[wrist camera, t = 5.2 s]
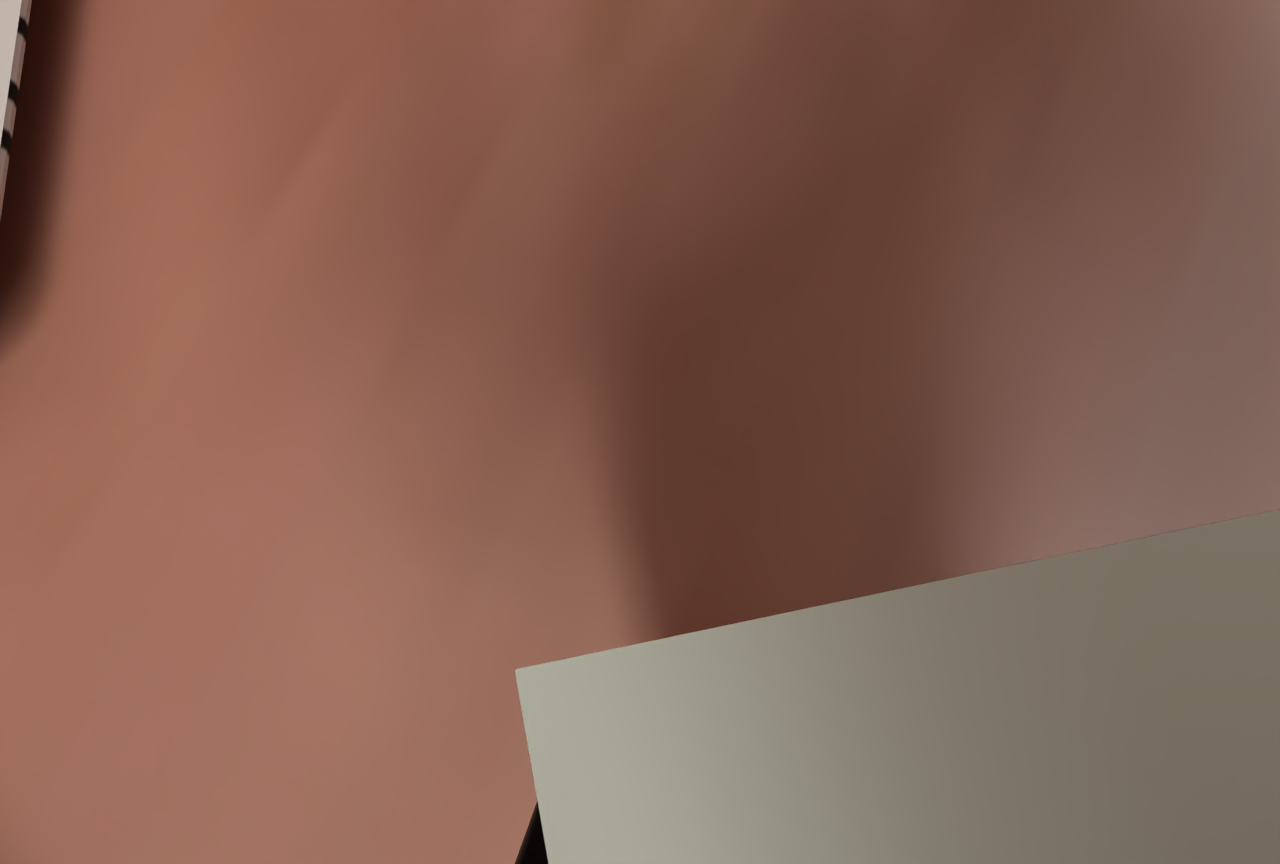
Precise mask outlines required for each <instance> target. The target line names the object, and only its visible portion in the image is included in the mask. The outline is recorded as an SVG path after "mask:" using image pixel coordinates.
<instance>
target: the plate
mask: <svg viewBox="0 0 1280 864" xmlns="http://www.w3.org/2000/svg"><path fill="white" fill-rule="evenodd" d="M31 3H32V0H0V219H1V212H2V205H3V198H4V191H5V184H6V177H7V170H8V163H9V156H10V149H11V142H12V136H13V129H14V122H15V115H16V108H17V101H18V94H19V87H20V80H21V73H22V66H23V59H24V52H25V45H26V38H27V31H28V24H29V17H30V10H31Z"/></svg>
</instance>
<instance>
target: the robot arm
mask: <svg viewBox="0 0 1280 864" xmlns="http://www.w3.org/2000/svg"><path fill="white" fill-rule="evenodd" d="M515 864H548V858H547V852H546V847H545V841H544V835H543V829H542V824H541V818H540V812H539V806H538V801H537V803H536V806H535V809H534V812H533V814H532V817H531V820H530V823H529V826H528V828H527V831H526V834H525V837H524V840H523V842H522V845H521V848H520V851H519V853H518V856H517V859H516V862H515Z"/></svg>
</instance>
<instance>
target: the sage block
mask: <svg viewBox="0 0 1280 864" xmlns="http://www.w3.org/2000/svg"><path fill="white" fill-rule="evenodd" d="M515 674H516V679H517V685H518V691H519V697H520V702H521V708H522V714H523V720H524V726H525V731H526V737H527V743H528V749H529V754H530V760H531V766H532V772H533V777H534V783H535V789H536V795H537V801H538V806H539V812H540V818H541V824H542V829H543V835H544V841H545V847H546V852H547V858H548V864H1280V509H1278V510H1273V511H1269V512H1264V513H1259V514H1254V515H1250V516H1245V517H1240V518H1235V519H1230V520H1226V521H1221V522H1216V523H1211V524H1207V525H1202V526H1197V527H1192V528H1188V529H1183V530H1178V531H1173V532H1168V533H1164V534H1159V535H1154V536H1149V537H1145V538H1140V539H1135V540H1130V541H1125V542H1121V543H1116V544H1111V545H1106V546H1102V547H1097V548H1092V549H1087V550H1083V551H1078V552H1073V553H1068V554H1064V555H1059V556H1054V557H1049V558H1044V559H1040V560H1035V561H1030V562H1025V563H1021V564H1016V565H1011V566H1006V567H1002V568H997V569H992V570H987V571H982V572H978V573H973V574H968V575H963V576H959V577H954V578H949V579H944V580H940V581H935V582H930V583H925V584H920V585H916V586H911V587H906V588H901V589H897V590H892V591H887V592H882V593H878V594H873V595H868V596H863V597H858V598H854V599H849V600H844V601H839V602H835V603H830V604H825V605H820V606H816V607H811V608H806V609H801V610H796V611H792V612H787V613H782V614H777V615H773V616H768V617H763V618H758V619H754V620H749V621H744V622H739V623H734V624H730V625H725V626H720V627H715V628H711V629H706V630H701V631H696V632H692V633H687V634H682V635H677V636H672V637H668V638H663V639H658V640H653V641H649V642H644V643H639V644H634V645H630V646H625V647H620V648H615V649H610V650H606V651H601V652H596V653H591V654H587V655H582V656H577V657H572V658H568V659H563V660H558V661H553V662H548V663H544V664H539V665H534V666H529V667H525V668H520V669H515Z"/></svg>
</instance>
